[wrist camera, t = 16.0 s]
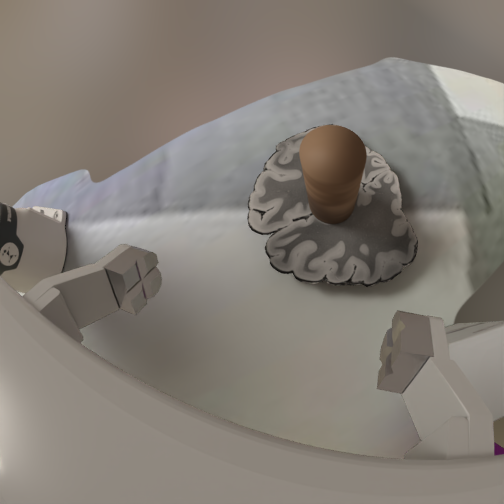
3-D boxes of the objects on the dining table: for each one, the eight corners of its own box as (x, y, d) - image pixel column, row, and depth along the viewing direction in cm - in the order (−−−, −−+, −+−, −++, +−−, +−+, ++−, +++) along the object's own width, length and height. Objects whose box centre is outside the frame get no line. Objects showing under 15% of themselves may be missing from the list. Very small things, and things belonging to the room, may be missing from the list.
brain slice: (230, 184, 35) (222, 173, 32) (343, 127, 33) (343, 112, 30) (303, 329, 28) (300, 330, 25) (433, 252, 26) (443, 245, 23)
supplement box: (457, 322, 23) (525, 316, 11) (458, 385, 21) (520, 411, 9) (398, 334, 25) (448, 341, 13) (400, 401, 23) (443, 445, 11)
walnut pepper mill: (302, 216, 28) (290, 172, 18) (316, 175, 28) (309, 119, 19) (347, 230, 26) (358, 191, 17) (359, 187, 27) (371, 134, 17)
